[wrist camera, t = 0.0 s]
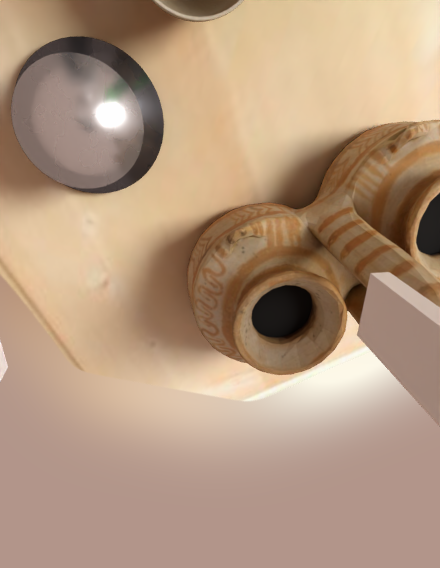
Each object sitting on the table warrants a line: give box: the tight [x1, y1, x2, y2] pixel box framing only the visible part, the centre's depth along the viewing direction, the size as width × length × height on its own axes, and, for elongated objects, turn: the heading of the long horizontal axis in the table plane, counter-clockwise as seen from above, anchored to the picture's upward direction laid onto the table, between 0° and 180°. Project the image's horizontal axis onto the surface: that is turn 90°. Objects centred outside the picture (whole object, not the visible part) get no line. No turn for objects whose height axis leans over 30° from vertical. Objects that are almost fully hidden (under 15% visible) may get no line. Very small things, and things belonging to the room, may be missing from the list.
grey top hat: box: [11, 37, 164, 193], centre depth 31 cm, size 13×13×8 cm
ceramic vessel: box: [187, 120, 440, 375], centre depth 33 cm, size 34×18×25 cm, turn 121°
